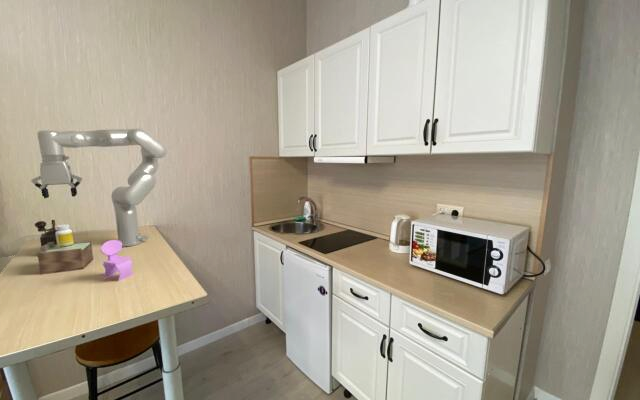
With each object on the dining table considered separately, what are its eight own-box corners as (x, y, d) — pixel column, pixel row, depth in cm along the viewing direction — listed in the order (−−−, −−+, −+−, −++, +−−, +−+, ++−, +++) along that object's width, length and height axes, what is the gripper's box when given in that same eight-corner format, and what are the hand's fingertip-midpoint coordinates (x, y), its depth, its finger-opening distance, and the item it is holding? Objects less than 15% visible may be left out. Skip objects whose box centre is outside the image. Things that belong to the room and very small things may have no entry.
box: (93, 259, 130) (90, 241, 128) (83, 269, 119) (80, 249, 117) (55, 263, 124) (52, 244, 123) (40, 274, 114) (37, 253, 112)
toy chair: (116, 282, 107) (111, 245, 104) (100, 279, 110) (95, 243, 107) (136, 273, 115) (132, 239, 112) (120, 271, 117) (116, 237, 115)
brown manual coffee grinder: (42, 251, 140) (36, 216, 137) (71, 246, 147) (66, 213, 144) (39, 260, 128) (33, 222, 125) (71, 254, 136) (66, 219, 133)
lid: (89, 243, 127) (89, 238, 127) (81, 250, 119) (81, 244, 118) (50, 247, 122) (49, 241, 121) (39, 254, 113) (38, 248, 113)
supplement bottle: (77, 245, 122) (74, 224, 120) (62, 249, 117) (59, 227, 115) (69, 244, 124) (66, 223, 122) (54, 248, 119) (51, 226, 117)
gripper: (81, 158, 130) (87, 194, 133) (31, 159, 122) (39, 197, 126) (75, 159, 123) (81, 196, 126) (23, 159, 116) (31, 199, 119)
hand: (60, 196), depth 126 cm, fingers open, 9 cm apart
